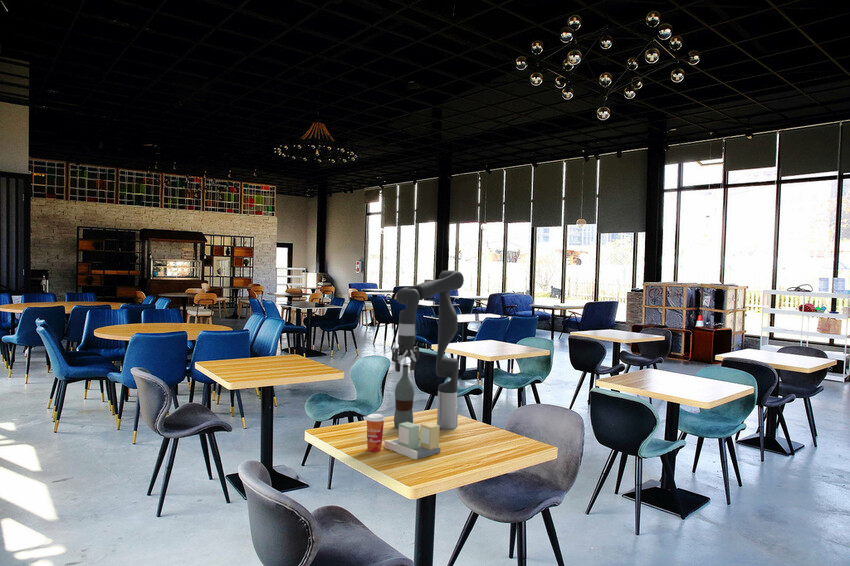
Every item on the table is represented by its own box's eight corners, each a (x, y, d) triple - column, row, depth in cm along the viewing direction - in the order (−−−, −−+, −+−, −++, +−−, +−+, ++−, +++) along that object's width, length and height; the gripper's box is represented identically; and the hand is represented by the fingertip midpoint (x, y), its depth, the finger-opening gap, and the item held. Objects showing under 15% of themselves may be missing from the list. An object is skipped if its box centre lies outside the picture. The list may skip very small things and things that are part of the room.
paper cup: (361, 451, 218) (362, 416, 218) (369, 446, 225) (371, 412, 225) (379, 454, 215) (380, 419, 215) (387, 448, 222) (388, 414, 222)
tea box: (406, 443, 224) (407, 421, 224) (418, 447, 219) (419, 425, 219) (397, 445, 220) (398, 423, 220) (409, 450, 215) (409, 427, 215)
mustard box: (428, 444, 224) (429, 422, 224) (438, 447, 220) (439, 425, 220) (419, 446, 221) (420, 424, 221) (429, 450, 216) (430, 427, 216)
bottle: (417, 428, 254) (419, 365, 254) (403, 432, 248) (406, 367, 248) (402, 424, 261) (405, 362, 261) (389, 427, 254) (391, 364, 254)
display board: (408, 441, 234) (409, 434, 234) (440, 452, 220) (440, 445, 220) (384, 447, 224) (384, 440, 224) (415, 459, 210) (415, 451, 210)
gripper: (400, 335, 229) (398, 373, 229) (424, 334, 239) (422, 370, 239) (388, 333, 234) (387, 371, 234) (412, 332, 244) (411, 368, 244)
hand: (405, 370), depth 236 cm, fingers open, 8 cm apart
